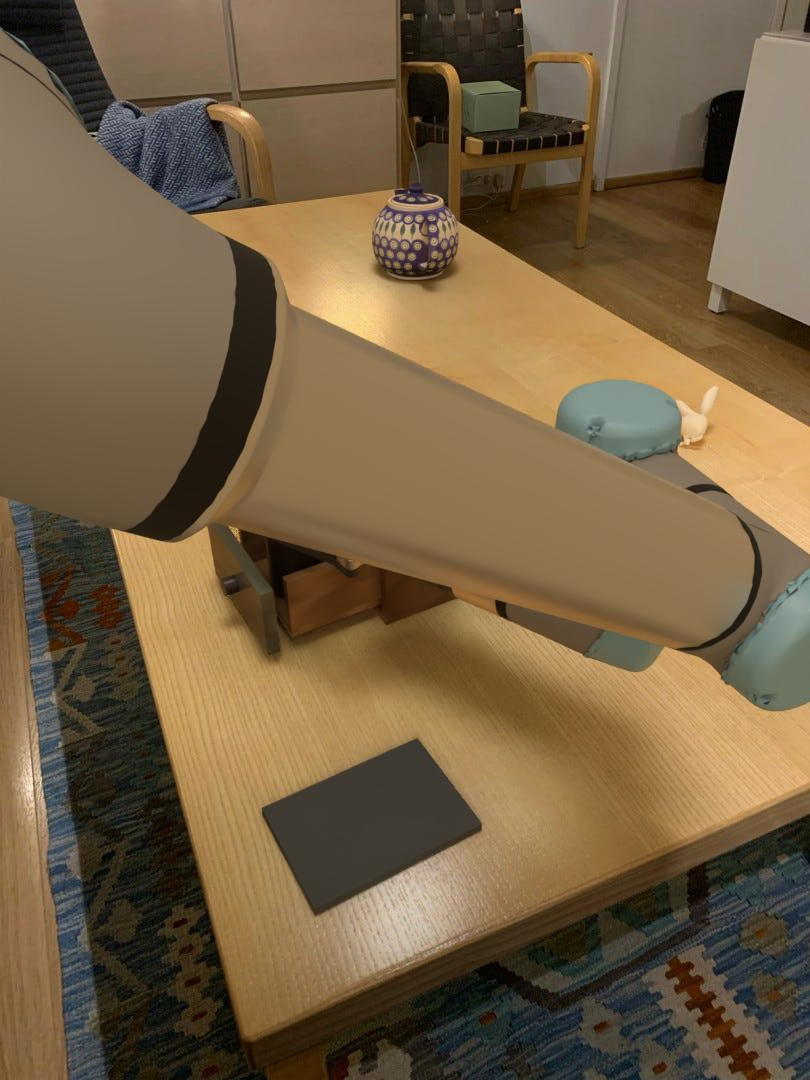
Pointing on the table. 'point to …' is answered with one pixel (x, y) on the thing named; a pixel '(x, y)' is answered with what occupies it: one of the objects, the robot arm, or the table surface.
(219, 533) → the drawer
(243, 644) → the table surface
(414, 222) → the teapot
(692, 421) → the rabbit figurine
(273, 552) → the thermos bottle
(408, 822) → the trivet mat
